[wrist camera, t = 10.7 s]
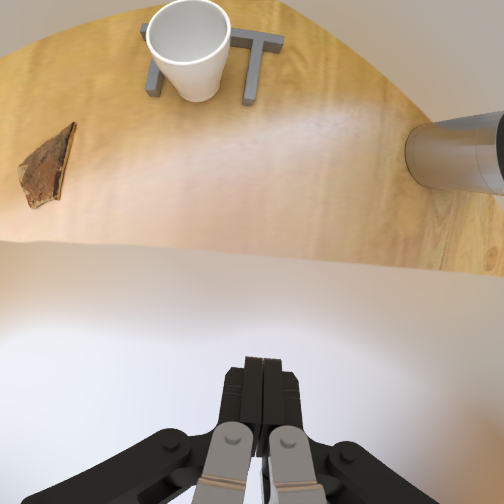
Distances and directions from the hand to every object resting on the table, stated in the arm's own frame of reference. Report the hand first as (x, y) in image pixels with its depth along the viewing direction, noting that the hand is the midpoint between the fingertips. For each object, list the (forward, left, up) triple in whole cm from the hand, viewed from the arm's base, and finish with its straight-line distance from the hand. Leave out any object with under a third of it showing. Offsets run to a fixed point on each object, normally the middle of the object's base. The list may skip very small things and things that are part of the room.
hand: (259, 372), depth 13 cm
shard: (+26, -8, -27) cm, 39 cm away
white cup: (+7, -19, -27) cm, 34 cm away
